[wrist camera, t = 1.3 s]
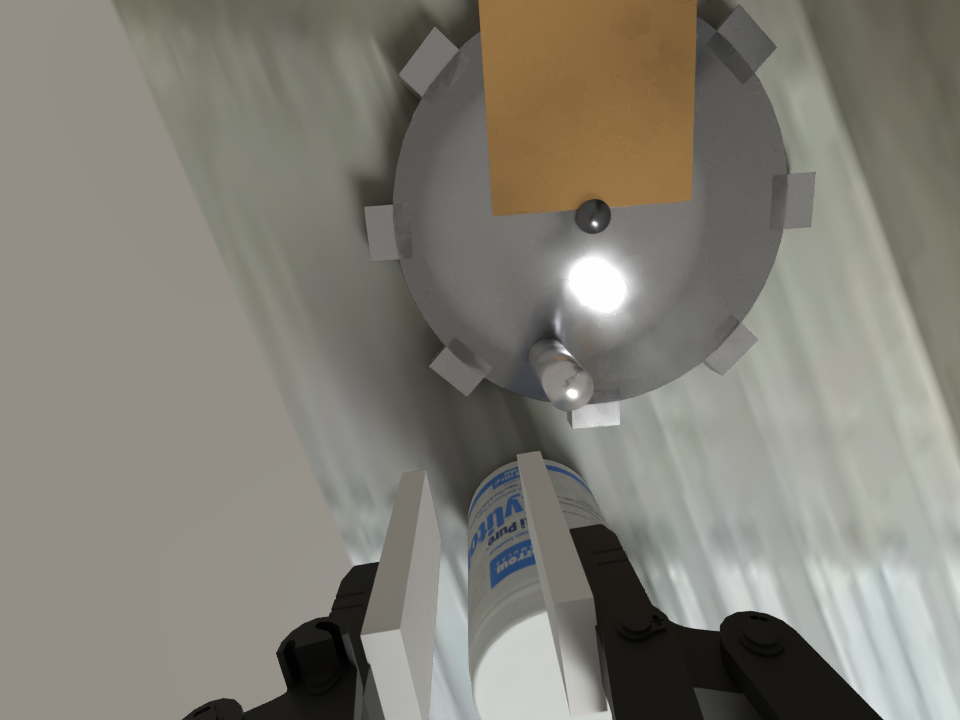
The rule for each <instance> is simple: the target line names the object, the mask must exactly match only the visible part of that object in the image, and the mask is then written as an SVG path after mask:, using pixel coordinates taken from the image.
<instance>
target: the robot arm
mask: <svg viewBox="0 0 960 720" xmlns="http://www.w3.org/2000/svg"><path fill="white" fill-rule="evenodd" d="M517 460H518V467H519V473H520V479H521V486H522V492H523V498H524V505H525V511H526V517H527V524H528V530H529V534H530V539H531V543H532V548H533V552H534V556H535V561H536V565H537V570H538V574H539V579H540V583H541V587H542V592H543V596H544V601H545V605H546V610H547V614H548V618H549V623H550V627H551V632H552V636H553V641H554V645H555V649H556V654H557V658H558V663H559V667H560V672H561V676H562V681H563V685H564V689H565V694H566V698H567V703H568V707H569V712H570V716H571V717H574V716H580V715H586V714H592V713H599V712H605V711H608V708H607V701H608V704H609V707H610V711H611V714H612V720H883V719H882V718H881V717H880V716H879V715H878V714H877V713H876V712H875V711H874V710H873V709H872V708H871V707H870V706H869V705H868V704H867V703H866V702H865V701H864V699H863V698H862V697H861V696H860V695H859V694H858V693H857V692H856V691H855V690H854V689H853V688H852V687H851V686H850V685H849V684H848V683H847V682H846V681H845V680H844V679H843V678H842V677H841V676H840V675H839V674H838V673H837V672H836V671H835V670H834V669H833V668H832V667H831V666H830V665H829V664H828V663H827V662H826V661H825V660H824V659H823V658H822V657H821V656H820V655H819V654H818V653H817V652H816V651H815V650H814V649H813V648H812V647H811V646H810V645H809V644H808V643H807V642H806V641H805V640H804V639H803V638H802V637H801V635H800V634H799V633H798V632H797V631H796V630H794V629H793V628H792V627H790V626H789V625H788V624H786V623H785V622H784V621H782V620H780V619H778V618H775V617H773V616H771V615H769V614H765V613H760V612H754V611H745V612H736V613H734V614H732V615H730V616H728V617H726V618H725V619H724V621H723V622H722V624H721V625H720V632H719V631H710V630H700V629H693V628H688V627H683V626H681V625H678V624H675V623H673V622H671V621H669V619H668V617H667V616H666V615H665V614H664V613H663V612H662V611H660V610H659V609H658V608H656V607H654V606H653V605H652V604H651V602H650V600H649V598H648V596H647V594H646V592H645V590H644V588H643V586H642V584H641V582H640V580H639V578H638V577H637V575H636V573H635V571H634V569H633V567H632V565H631V563H630V562H629V560H628V557H627V555H626V553H625V551H624V550H623V548H622V546H621V544H620V542H619V540H618V538H617V536H616V534H615V533H613V532H612V531H611V530H609V529H608V528H607V527H605V526H604V525H603V524H596V525H590V526H584V527H578V528H572V529H568V526H567V523H566V520H565V518H564V515H563V512H562V509H561V507H560V504H559V501H558V498H557V496H556V493H555V490H554V487H553V485H552V482H551V479H550V477H549V474H548V471H547V468H546V466H545V463H544V460H543V457H542V455H541V452H540V451H535V452H529V453H523V454H517ZM440 554H441V540H440V535H439V531H438V526H437V521H436V516H435V511H434V507H433V502H432V497H431V492H430V488H429V483H428V478H427V473H426V470H421V471H415V472H409V473H403V474H402V477H401V481H400V484H399V488H398V492H397V496H396V500H395V504H394V508H393V511H392V515H391V519H390V523H389V527H388V531H387V535H386V538H385V542H384V546H383V550H382V554H381V558H380V562H375V563H369V564H363V565H357V566H354V567H353V568H352V569H351V570H350V571H349V573H348V574H347V575H346V576H345V577H344V578H343V580H342V581H341V584H340V587H339V589H338V593H337V595H336V599H335V600H334V603H333V606H332V609H331V610H332V612H331V613H330V615H329V617H322V618H316V619H314V620H311V621H309V622H306V623H304V624H302V625H301V626H299V627H298V628H296V629H295V630H293V631H292V632H291V633H290V634H289V635H288V636H287V637H286V638H285V639H284V640H283V641H282V643H281V645H280V647H279V649H278V651H277V653H276V655H277V658H278V661H279V664H280V667H281V670H282V673H283V676H284V679H285V682H286V686H287V692H286V693H284V694H283V695H281V696H279V697H277V698H276V699H274V700H272V701H269V702H267V703H265V704H263V705H261V706H258V707H256V708H253V709H251V710H249V711H247V712H243V709H242V707H241V705H240V704H239V703H238V702H237V701H236V700H234V699H226V698H222V699H219V700H214V701H210V702H208V703H206V704H204V705H202V706H201V707H199V708H197V709H195V710H193V711H192V712H191V713H190V714H188V715H187V716H186V717H185V718H183V719H182V720H429V708H430V694H431V680H432V666H433V652H434V638H435V624H436V610H437V596H438V582H439V568H440ZM606 698H607V700H606Z"/></svg>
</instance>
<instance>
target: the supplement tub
mask: <svg viewBox="0 0 960 720" xmlns="http://www.w3.org/2000/svg"><path fill="white" fill-rule="evenodd" d="M543 460H544V463H545V466H546V468H547V471H548V474H549V477H550V479H551V482H552V485H553V487H554V490H555V493H556V496H557V498H558V501H559V504H560V507H561V509H562V512H563V515H564V518H565V520H566V523H567V526H568V529H572V528H578V527H584V526H590V525H596V524H603V525H604V526H605V527H607V528H608V529H609V527H608V525H607V523H606V521H605V519H604V517H603V515H602V513H601V511H600V509H599V506H598V504H597V502H596V500H595V498H594V496H593V494H592V492H591V490H590V489H589V487H588V485H587V484H586V483H585V482H584V480H583V479H582V478H581V477H580V476H579V475H578V474H577V473H575V472H574V471H573V470H571V469H570V468H568V467H566V466H565V465H562V464H560V463H557V462H554V461H551V460H546V459H543ZM609 530H610V529H609ZM468 647H469V673H470V678H471V682H472V696H473V701H474V705H475V708H476V711H477V713H478V715H479V717H480V719H481V720H612V714H611V711H610V707H609V704H608V701H607V708H608V711H605V712H599V713H592V714H586V715H580V716H574V717H571V716H570V712H569V707H568V703H567V698H566V694H565V689H564V685H563V681H562V676H561V672H560V667H559V663H558V658H557V654H556V649H555V645H554V641H553V636H552V632H551V627H550V623H549V618H548V614H547V610H546V605H545V601H544V596H543V592H542V587H541V583H540V579H539V574H538V570H537V565H536V561H535V556H534V552H533V548H532V543H531V539H530V534H529V530H528V524H527V517H526V511H525V505H524V498H523V492H522V486H521V479H520V473H519V467H518V461H514V462H511V463H509V464H506V465H504V466H502V467H500V468H498V469H497V470H495V471H494V472H492V473H491V474H490V475H489V476H488V477H487V478H486V479H485V480H484V481H483V482H482V483H481V484H480V486H479V487H478V488H477V490H476V492H475V494H474V496H473V498H472V501H471V504H470V508H469V512H468ZM606 700H607V698H606Z"/></svg>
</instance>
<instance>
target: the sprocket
mask: <svg viewBox="0 0 960 720" xmlns="http://www.w3.org/2000/svg"><path fill="white" fill-rule="evenodd" d="M478 4H479V19H480V32H478V33H477V34H476V35H475V36H473V37H472V38H471V39H470V40H468V41H467V42H466V43H465V44H464V45H463V46H462V47H461V48H460V49H458V48H457V47H456V46H455V45H454V44H453V43H451V42H450V41H449V40H448V39H447V38H446V37H445V36H444V35H443V34H442V33H441V32H440V31H439V30H438V29H437V28H436V27H434V28H433V29H432V31H431V32H430V33H429V35H428V36H427V37H426V39H425V40H424V42H423V43H422V44H421V46H420V47H419V48H418V50H417V51H416V52H415V54H414V55H413V56H412V58H411V59H410V60H409V62H408V63H407V64H406V66H405V67H404V68H403V70H402V71H401V72H400V74H399V77H400V80H401V83H402V84H403V85H404V86H405V87H406V88H407V89H408V90H409V91H410V92H411V93H413V94H414V95H415V96H416V97H417V98H418V99H419V100H420V103H419V105H418V106H417V108H416V110H415V112H414V114H413V116H412V119H411V122H410V124H409V127H408V129H407V132H406V134H405V137H404V140H403V143H402V147H401V151H400V155H399V159H398V163H397V167H396V175H395V183H394V191H393V205H382V206H369V207H364V211H365V219H366V227H367V235H368V242H369V250H370V258H371V262H372V261H385V260H397V259H399V260H400V264H401V268H402V271H403V275H404V278H405V280H406V283H407V285H408V287H409V290H410V292H411V295H412V297H413V300H414V301H415V303H416V305H417V307H418V308H419V310H420V312H421V314H422V315H423V317H424V319H425V321H426V322H427V323H428V325H429V326H430V327H431V329H432V330H433V331H434V333H435V334H436V335H437V337H438V338H439V339H440V341H441V342H442V343H443V344H444V345H443V347H442V348H441V349H440V350H439V351H438V353H437V354H436V355H435V356H434V357H433V358H432V360H431V361H430V365H429V367H430V368H432V369H433V370H434V371H435V372H436V373H438V374H439V375H440V376H441V377H443V378H444V379H445V380H446V381H448V382H449V383H450V384H451V385H453V386H454V387H455V388H456V389H458V390H459V391H460V392H461V393H463V394H464V395H465V396H466V397H467V396H468V395H469V394H470V393H471V392H472V391H473V389H474V388H475V387H476V386H477V385H478V384H479V383H480V382H481V380H482V379H483V378H486V379H487V380H489V381H491V382H492V383H494V384H496V385H498V386H500V387H502V388H505V389H507V390H509V391H512V392H514V393H516V394H519V395H522V396H526V397H529V398H533V399H536V400H540V401H546V402H551V403H552V404H553V405H554V406H555V407H557V408H559V409H561V410H565V411H567V420H568V422H569V424H570V425H571V427H572V429H575V428H587V427H599V426H611V425H620V414H619V400H623V399H628V398H632V397H636V396H638V395H641V394H644V393H647V392H649V391H652V390H655V389H657V388H659V387H661V386H663V385H665V384H667V383H669V382H671V381H673V380H675V379H677V378H679V377H681V376H682V375H684V374H685V373H687V372H688V371H690V370H691V369H693V368H694V367H696V366H697V365H699V364H700V363H701V362H703V363H704V364H705V365H706V366H707V367H708V368H710V369H711V370H713V371H714V372H716V373H718V374H720V375H722V376H723V375H724V374H725V373H726V372H727V371H728V370H729V369H730V368H731V367H732V366H733V365H734V364H735V363H736V362H737V361H738V360H739V359H740V358H741V357H742V356H743V355H744V354H745V353H746V351H747V350H748V349H749V348H750V347H751V346H752V345H753V344H754V343H755V342H756V341H757V340H758V339H757V338H756V337H755V336H754V335H753V334H752V333H751V332H750V331H749V330H748V329H747V328H746V327H745V326H744V325H743V324H742V323H741V322H742V320H743V319H744V318H745V316H746V315H747V314H748V312H749V311H750V310H751V308H752V306H753V304H754V303H755V301H756V299H757V298H758V296H759V294H760V292H761V291H762V289H763V287H764V285H765V283H766V280H767V278H768V276H769V274H770V271H771V269H772V267H773V264H774V262H775V258H776V255H777V252H778V248H779V245H780V242H781V238H782V234H783V229H790V228H803V227H811V220H812V208H813V197H814V185H815V173H816V172H809V173H796V174H787V165H786V155H785V150H784V145H783V140H782V135H781V130H780V127H779V124H778V121H777V118H776V115H775V113H774V110H773V107H772V104H771V102H770V100H769V98H768V96H767V94H766V92H765V90H764V88H763V86H762V84H761V82H760V80H759V79H758V77H757V76H756V74H755V71H756V70H757V69H758V68H759V67H760V66H761V65H762V63H763V62H764V61H765V60H766V59H767V58H768V57H769V56H770V54H771V53H772V52H773V51H774V50H775V49H776V48H777V47H776V46H775V44H774V43H773V42H772V41H771V40H770V39H769V38H768V36H767V35H766V34H765V33H764V32H763V31H762V30H761V28H760V27H759V26H758V25H757V24H756V23H755V22H754V20H753V19H752V18H751V17H750V16H749V15H748V14H747V12H746V11H745V10H744V9H743V8H742V7H741V6H740V5H738V6H737V7H736V8H735V9H734V10H732V11H731V12H730V13H729V14H728V15H727V16H725V17H724V18H723V20H722V21H721V22H720V23H719V24H718V25H717V27H716V28H715V29H714V28H713V27H711V26H710V25H709V24H708V23H706V22H705V21H704V20H702V19H700V18H699V17H697V0H478Z"/></svg>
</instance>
